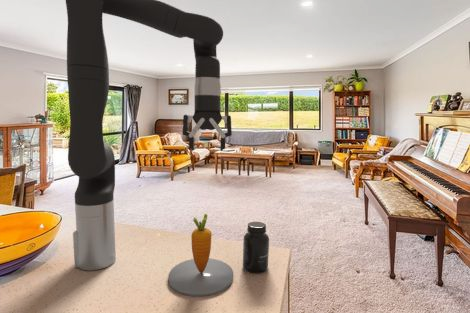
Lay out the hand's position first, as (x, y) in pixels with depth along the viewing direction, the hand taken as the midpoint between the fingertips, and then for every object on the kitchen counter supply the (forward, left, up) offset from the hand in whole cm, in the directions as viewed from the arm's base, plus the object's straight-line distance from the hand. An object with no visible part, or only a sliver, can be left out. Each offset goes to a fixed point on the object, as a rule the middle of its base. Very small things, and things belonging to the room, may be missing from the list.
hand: (207, 150), depth 85 cm
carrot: (0, -17, -29) cm, 34 cm away
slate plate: (0, -17, -30) cm, 35 cm away
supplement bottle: (+14, -12, -30) cm, 35 cm away
